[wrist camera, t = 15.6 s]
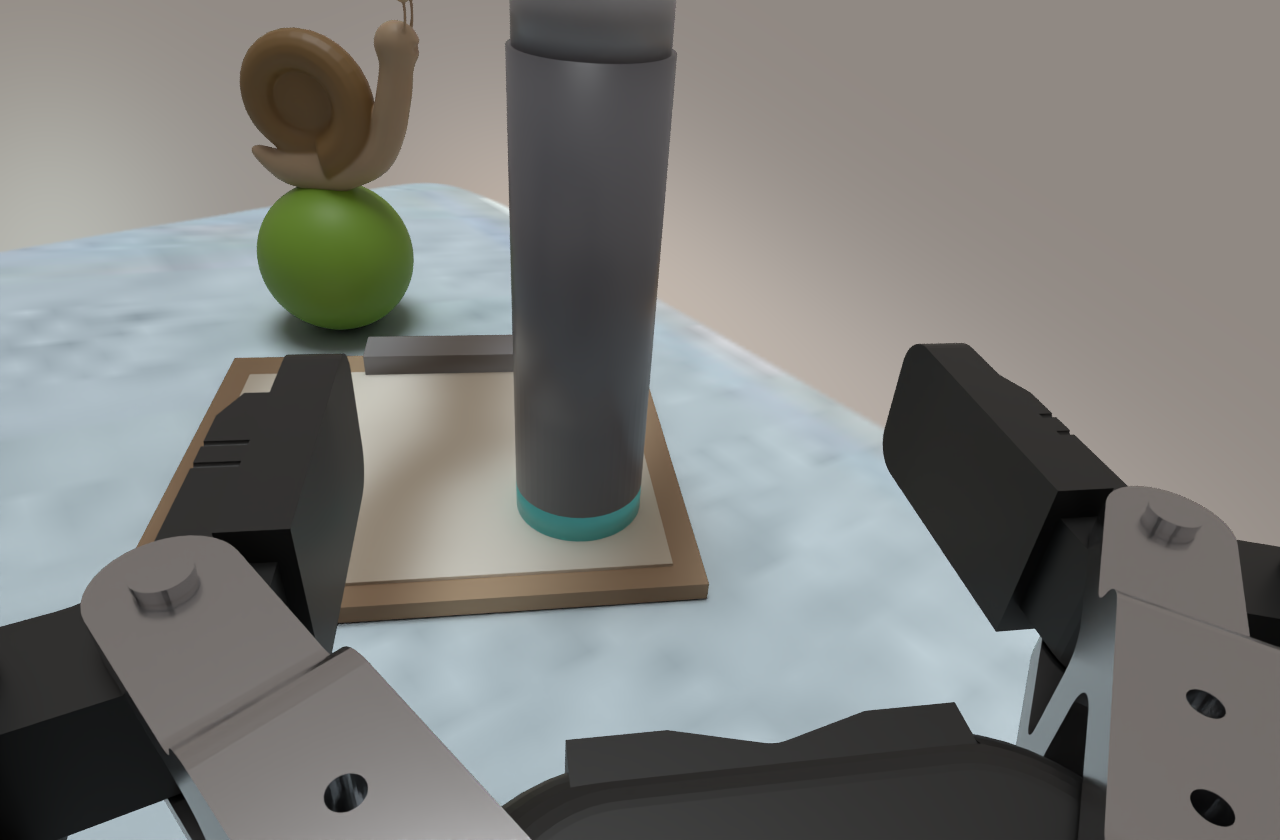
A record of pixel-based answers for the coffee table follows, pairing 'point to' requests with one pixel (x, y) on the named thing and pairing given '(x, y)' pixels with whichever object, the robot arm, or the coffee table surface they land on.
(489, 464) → the clipboard
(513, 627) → the coffee table surface
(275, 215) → the snail figurine
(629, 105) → the cylinder
